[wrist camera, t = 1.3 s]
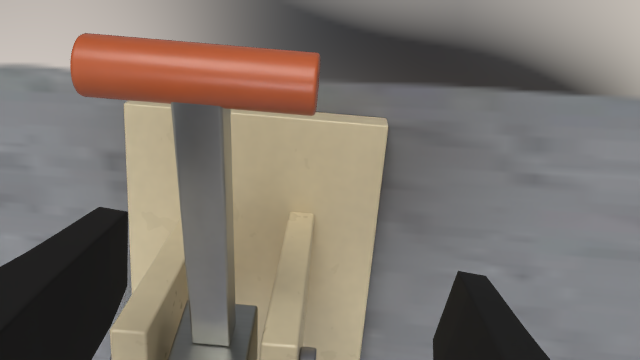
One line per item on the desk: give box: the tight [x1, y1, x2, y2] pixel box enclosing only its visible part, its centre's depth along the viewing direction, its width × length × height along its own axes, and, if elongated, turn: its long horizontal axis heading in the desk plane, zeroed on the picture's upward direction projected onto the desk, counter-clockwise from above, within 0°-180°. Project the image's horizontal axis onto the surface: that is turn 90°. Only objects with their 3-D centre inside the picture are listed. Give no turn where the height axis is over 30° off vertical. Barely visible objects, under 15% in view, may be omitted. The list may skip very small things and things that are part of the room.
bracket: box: [110, 100, 388, 360], centre depth 21 cm, size 12×10×10 cm
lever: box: [71, 33, 320, 360], centre depth 15 cm, size 12×5×2 cm, turn 175°
